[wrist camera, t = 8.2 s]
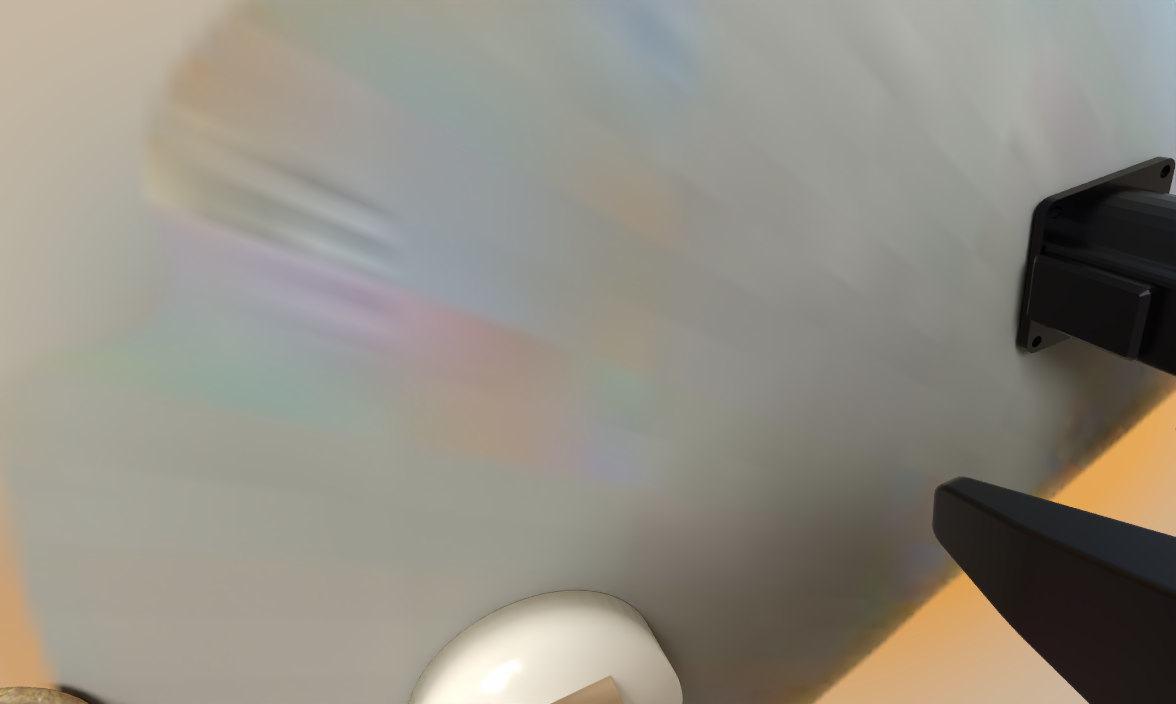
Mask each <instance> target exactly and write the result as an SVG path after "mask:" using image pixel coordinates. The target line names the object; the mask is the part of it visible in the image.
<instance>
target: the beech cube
mask: <svg viewBox="0 0 1176 704" xmlns="http://www.w3.org/2000/svg"><path fill="white" fill-rule="evenodd" d="M551 704H624V703H623V701H622V699H621V697H620V695H619V692H618V690H617V688H616V686H615V684H614V682H613V680H612V678H611V676H608V677H605V678H603V679H601V680H599V681H597V682H595V683H593V684H591V685H589V686H587V687H584V688H582V689H580V690H578V691H576V692H574V693H572V694H570V695H568V696H566V697H564V698H561V699H559V700H557V701H555V702H553V703H551Z"/></svg>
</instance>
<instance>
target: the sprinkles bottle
mask: <svg viewBox="0 0 1176 704" xmlns="http://www.w3.org/2000/svg"><path fill="white" fill-rule="evenodd" d="M0 704H88V703H87V702H85V701H83V700H81V699H80V698H78V697H74V696H72V695H70V694H66V693H62V692H59V691H56V690H51V689H45V688H31V687H8V688H0Z"/></svg>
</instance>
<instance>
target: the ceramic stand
mask: <svg viewBox="0 0 1176 704" xmlns="http://www.w3.org/2000/svg"><path fill="white" fill-rule="evenodd" d="M608 676H611V678H612V680H613V682H614V684H615V686H616V688H617V690H618V692H619V695H620V697H621V699H622V701H623V703H624V704H682V702H683V698H682V689H681V685H680V682H679V679H678V677H677V675H676V673H675V672H674V670H673V668H672V666H671V665H670V663H669V661H668V659H667V658H666V656H665V654H664V652H663V651H662V649H661V647H660V646H659V644H658V642H657V640H656V639H655V637H654V635H653V633H652V632H651V630H650V628H649V626H648V625H647V623H646V621H645V620H644V618H643V617H642V616H641V615H640V614H639V612H638V611H637V610H636V609H634V608H633V607H632V606H630V605H629V604H628V603H626V602H624V601H622V600H620V599H618V598H616V597H613V596H610V595H607V594H604V593H598V592H593V591H579V590H572V591H558V592H552V593H546V594H541V595H537V596H534V597H530V598H527V599H523V600H520V601H518V602H515V603H513V604H510V605H507V606H505V607H503V608H501V609H499V610H497V611H495V612H493V613H491V614H489V615H487V616H485V617H484V618H482V619H481V620H479V621H477V622H476V623H474V624H472V625H471V626H470V627H468V628H467V629H466V630H464V631H463V632H462V633H460V634H459V635H458V636H456V637H455V638H454V639H453V640H452V641H451V642H450V643H449V644H447V645H446V646H445V647H444V648H443V649H442V650H441V651H440V652H439V653H438V655H437V656H436V657H435V658H434V659H433V660H432V661H431V662H430V664H429V665H428V667H427V668H426V669H425V671H424V672H423V674H422V675H421V676H420V678H419V680H418V682H417V684H416V686H415V688H414V689H413V692H412V695H411V697H410V700H409V703H408V704H551V703H553V702H555V701H557V700H559V699H561V698H564V697H566V696H568V695H570V694H572V693H574V692H576V691H578V690H580V689H582V688H584V687H587V686H589V685H591V684H593V683H595V682H597V681H599V680H601V679H603V678H605V677H608Z"/></svg>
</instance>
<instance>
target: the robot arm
mask: <svg viewBox="0 0 1176 704" xmlns="http://www.w3.org/2000/svg"><path fill="white" fill-rule="evenodd" d="M1174 170H1175V161H1174V160H1173V159H1172V158H1166V157H1156V158H1153V159H1150V160H1148V161H1145V162H1142V163H1140V164H1137V165H1134V166H1131V167H1129V168H1126V169H1123V170H1120V171H1118V172H1115V173H1112V174H1110V175H1107V176H1104V177H1101V178H1099V179H1096V180H1093V181H1090V182H1088V183H1085V184H1082V185H1080V186H1077V187H1074V188H1071V189H1069V190H1066V191H1063V192H1060V193H1058V194H1055V195H1052V196H1049V197H1047V198H1046V199H1044V200H1043V201H1042V202H1041V203H1040V205H1039V206H1038V208H1037V211H1036V215H1035V223H1034V230H1033V238H1032V245H1031V253H1030V260H1029V268H1028V275H1027V282H1026V290H1025V297H1024V305H1023V312H1022V320H1021V327H1020V334H1019V347H1020V348H1021V349H1023V350H1026V351H1028V352H1030V353H1034V352H1037V351H1039V350H1041V349H1044V348H1046V347H1048V346H1051V345H1053V344H1055V343H1058V342H1060V341H1062V340H1065V339H1067V338H1069V337H1072V338H1075V339H1077V340H1080V341H1082V342H1085V343H1087V344H1089V345H1092V346H1094V347H1097V348H1099V349H1102V350H1104V351H1107V352H1109V353H1111V354H1114V355H1116V356H1119V357H1121V358H1124V359H1126V360H1131V361H1132V360H1136V361H1139V362H1141V363H1144V364H1146V365H1149V366H1151V367H1154V368H1156V369H1159V370H1161V371H1163V372H1166V373H1168V374H1171V375H1173V376H1176V195H1173V194H1169V191H1170V187H1171V183H1172V178H1173V174H1174ZM932 527H933V531H934V534H935V536H936V538H937V539H938V541H939V542H940V544H941V545H942V546H943V547H944V548H945V549H946V551H947V552H948V553H949V554H950V555H951V557H952V558H953V559H954V560H955V561H956V562H957V564H958V565H959V566H960V567H961V568H962V570H963V571H964V572H965V573H966V574H967V575H968V576H969V578H970V579H971V580H972V581H973V582H974V584H975V585H976V586H977V587H978V588H979V589H980V591H981V592H982V593H983V594H984V595H985V597H986V598H987V599H988V600H989V601H990V602H991V604H992V605H993V606H994V607H995V608H996V609H997V611H998V612H999V613H1000V614H1001V615H1002V616H1003V618H1005V620H1006V621H1007V622H1008V623H1009V624H1010V625H1011V626H1012V627H1013V628H1014V629H1015V630H1016V631H1017V633H1018V634H1019V635H1020V636H1021V637H1022V638H1023V639H1024V640H1025V641H1026V642H1027V643H1028V644H1029V645H1031V647H1032V648H1033V649H1034V650H1035V651H1036V652H1037V653H1038V654H1039V655H1041V657H1043V658H1044V659H1045V660H1046V661H1047V662H1048V663H1049V664H1050V665H1051V666H1052V667H1053V668H1054V669H1055V670H1056V671H1057V672H1058V673H1059V674H1060V675H1061V676H1062V677H1063V678H1064V679H1065V680H1066V681H1067V682H1068V683H1069V684H1070V685H1071V686H1072V687H1073V688H1074V689H1075V690H1076V691H1077V692H1078V693H1079V694H1080V695H1081V696H1082V697H1083V698H1084V699H1085V700H1086V701H1087V702H1088V703H1089V704H1176V537H1174V536H1171V535H1167V534H1164V533H1160V532H1156V531H1153V530H1149V529H1146V528H1142V527H1139V526H1135V525H1132V524H1129V523H1125V522H1122V521H1118V520H1115V519H1111V518H1108V517H1104V516H1100V515H1097V514H1094V513H1090V512H1087V511H1083V510H1080V509H1076V508H1073V507H1069V506H1066V505H1062V504H1059V503H1055V502H1052V501H1048V500H1045V499H1041V498H1038V497H1034V496H1031V495H1027V494H1024V493H1020V492H1017V491H1013V490H1010V489H1007V488H1003V487H1000V486H996V485H993V484H989V483H986V482H982V481H979V480H975V479H972V478H968V477H957V478H954V479H952V480H950V481H948V482H945V483H943V484H941V485H939V486H938V487H937V489H936V490H935V494H934V508H933V521H932Z"/></svg>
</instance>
